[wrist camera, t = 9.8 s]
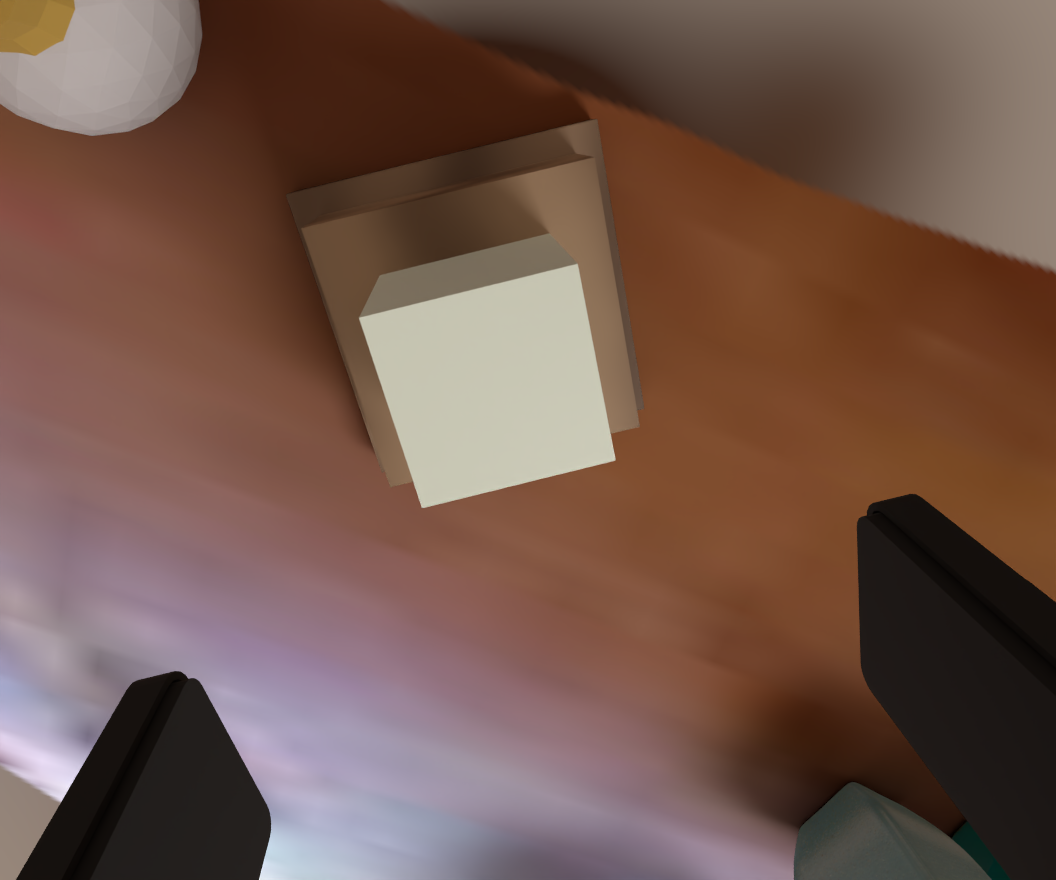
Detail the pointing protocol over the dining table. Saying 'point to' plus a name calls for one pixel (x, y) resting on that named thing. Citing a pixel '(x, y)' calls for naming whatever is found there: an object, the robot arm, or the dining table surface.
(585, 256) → the walnut pedestal
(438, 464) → the cream block
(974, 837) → the pitcher
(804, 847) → the flower pot
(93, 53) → the perfume bottle
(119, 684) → the dining table surface
